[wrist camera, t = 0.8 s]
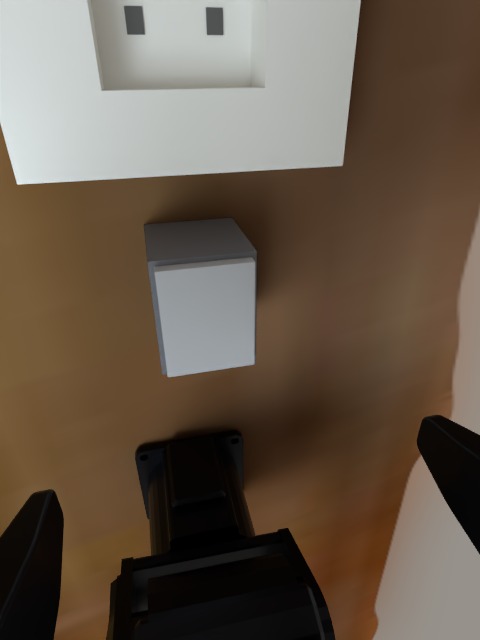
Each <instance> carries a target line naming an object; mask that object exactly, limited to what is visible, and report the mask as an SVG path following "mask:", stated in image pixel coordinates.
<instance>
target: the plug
mask: <svg viewBox="0 0 480 640" xmlns="http://www.w3.org/2000/svg"><path fill="white" fill-rule="evenodd" d="M144 232H145V242H146V253H147V263H148V270H149V277H150V285H151V292H152V300H153V307H154V315H155V322H156V330H157V337H158V345H159V352H160V360H161V367H162V374H167V375H168V377H173V376H180V375H187V374H194V373H200V372H207V371H214V370H220V369H227V368H234V367H241V366H247V365H254V361H256V299H257V251H256V249H255V248H254V247H253V245H252V244H251V243H250V241H249V240H248V239H247V237H246V236H245V235H244V233H243V232H242V230H241V229H240V228H239V226H238V225H237V224H236V222H235V221H234V220H233V218H220V219H207V220H195V221H182V222H169V223H157V224H144Z"/></svg>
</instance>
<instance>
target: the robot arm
mask: <svg viewBox="0 0 480 640" xmlns="http://www.w3.org/2000/svg"><path fill="white" fill-rule="evenodd" d="M234 438H236V439H234ZM417 446H418V449H419V451H420V453H421V455H422V457H423V459H424V461H425V462H426V465H427V466H428V468H429V470H430V472H431V474H432V476H433V478H434V480H435V482H436V484H437V486H438V488H439V489H440V491H441V493H442V495H443V497H444V499H445V501H446V502H447V504H448V506H449V507H450V509H451V511H452V512H453V514H454V515H455V517H456V518H457V520H458V521H459V523H460V524H461V526H462V528H463V529H464V531H465V532H466V534H467V535H468V537H469V538H470V540H471V542H472V543H473V545H474V546H475V548H476V549H477V551H478V552H479V554H480V435H478V434H476V433H474V432H472V431H470V430H468V429H467V428H465V427H463V426H461V425H459V424H457V423H455V422H453V421H451V420H449V419H447V418H445V417H443V416H441V415H433V416H428V417H425V418H424V419H423V420H422V422H421V426H420V430H419V433H418V437H417ZM142 455H145V456H142ZM135 460H136V465H137V470H138V475H139V480H140V485H141V490H142V495H143V499H144V504H145V509H146V514H147V518H148V519H149V520H150V541H151V556H146V557H141V558H136V559H133V557H131V558H125V559H122V565H121V574H120V575H119V576H117V579H116V580H115V581H113V582H112V583H111V590H110V614H109V624H108V631H107V637H106V640H335V635H334V630H333V626H332V621H331V617H330V614H329V611H328V607H327V604H326V602H325V599H324V596H323V594H322V592H321V590H320V588H319V586H318V584H317V582H316V580H315V578H314V576H313V574H312V572H311V570H310V569H309V567H308V565H307V563H306V561H305V559H304V557H303V555H302V553H301V552H300V550H299V548H298V546H297V544H296V542H295V540H294V538H293V537H292V535H291V533H290V531H289V529H288V528H284V529H279V530H278V532H273V533H268V534H262V535H257V536H256V535H255V532H254V528H253V524H252V521H251V517H250V514H249V510H248V506H247V503H246V499H245V495H244V492H243V439H242V436H241V433H240V432H239V431H236V430H235V431H228V432H222V433H217V434H211V435H206V436H200V437H195V438H189V439H183V440H178V441H172V442H167V443H161V444H155V445H150V446H144V447H140V448H139V449H137V450H136V452H135ZM63 528H64V518H63V512H62V509H61V507H60V504H59V501H58V498H57V495H56V493H55V491H54V490H52V489H49V490H44V491H39V492H35V493H33V494H32V495H31V496H30V497H29V499H28V500H27V501H26V503H25V504H24V505H23V507H22V508H21V510H20V511H19V512H18V514H17V515H16V516H15V518H14V519H13V521H12V522H11V523H10V525H9V526H8V527H7V529H6V530H5V531H4V533H3V534H2V536H1V537H0V640H53V639H54V633H55V627H56V620H57V614H58V607H59V600H60V588H61V569H62V548H63Z"/></svg>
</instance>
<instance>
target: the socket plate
mask: <svg viewBox="0 0 480 640" xmlns="http://www.w3.org/2000/svg"><path fill="white" fill-rule="evenodd" d="M360 3H361V0H0V123H1V127H2V131H3V134H4V138H5V141H6V145H7V149H8V152H9V156H10V160H11V163H12V167H13V170H14V174H15V178H16V181H17V185H18V184H36V183H53V182H71V181H88V180H106V179H123V178H140V177H158V176H175V175H193V174H210V173H227V172H245V171H262V170H280V169H297V168H315V167H332V166H343V158H344V149H345V140H346V130H347V121H348V112H349V103H350V94H351V85H352V76H353V67H354V58H355V49H356V39H357V30H358V21H359V12H360Z"/></svg>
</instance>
